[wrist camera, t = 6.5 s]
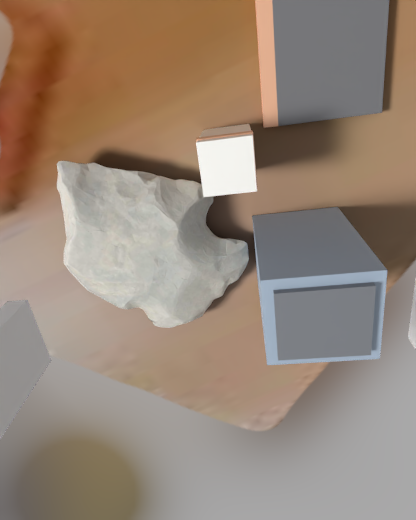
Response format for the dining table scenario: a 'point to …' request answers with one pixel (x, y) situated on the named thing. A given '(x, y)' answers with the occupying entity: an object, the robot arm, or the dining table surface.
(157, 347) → the dining table surface
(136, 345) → the dining table surface
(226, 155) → the cartridge
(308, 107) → the mat
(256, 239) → the box
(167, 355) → the dining table surface
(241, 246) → the rock
